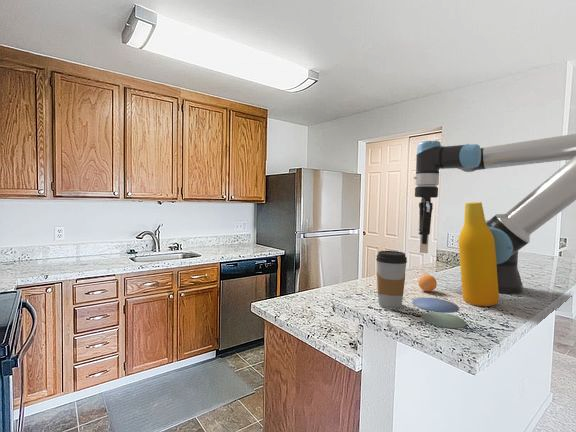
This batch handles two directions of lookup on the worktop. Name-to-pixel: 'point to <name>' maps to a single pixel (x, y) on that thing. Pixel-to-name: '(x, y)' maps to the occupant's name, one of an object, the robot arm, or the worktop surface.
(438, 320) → the disc
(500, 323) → the worktop surface
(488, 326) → the worktop surface
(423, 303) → the disc
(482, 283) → the beer bottle
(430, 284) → the ball
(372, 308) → the worktop surface
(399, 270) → the coffee cup
